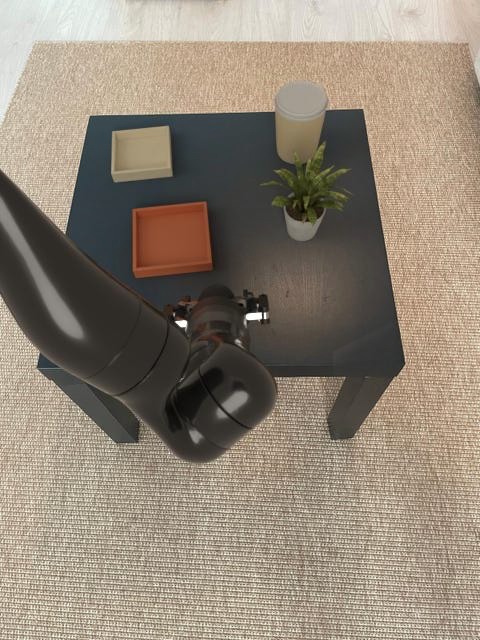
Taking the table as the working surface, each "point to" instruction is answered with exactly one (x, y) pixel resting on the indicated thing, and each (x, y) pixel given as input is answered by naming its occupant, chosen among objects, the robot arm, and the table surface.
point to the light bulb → (216, 292)
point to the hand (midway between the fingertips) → (216, 298)
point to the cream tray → (141, 154)
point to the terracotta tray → (171, 240)
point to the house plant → (308, 196)
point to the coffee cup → (299, 119)
